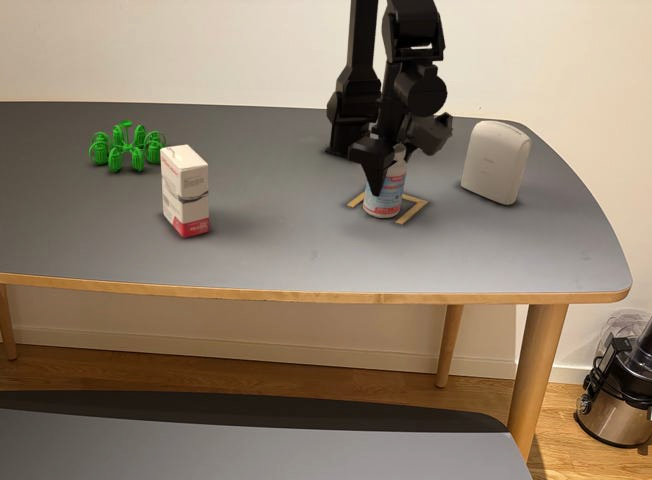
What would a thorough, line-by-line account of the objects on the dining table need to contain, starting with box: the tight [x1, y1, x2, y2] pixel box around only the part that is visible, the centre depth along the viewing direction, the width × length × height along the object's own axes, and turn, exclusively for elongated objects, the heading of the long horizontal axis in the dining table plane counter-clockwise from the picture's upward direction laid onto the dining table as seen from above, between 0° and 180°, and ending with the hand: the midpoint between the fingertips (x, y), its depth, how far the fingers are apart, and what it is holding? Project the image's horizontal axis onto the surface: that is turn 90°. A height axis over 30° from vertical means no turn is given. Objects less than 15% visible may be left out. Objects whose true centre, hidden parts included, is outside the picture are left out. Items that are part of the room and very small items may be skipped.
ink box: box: [160, 143, 210, 239], centre depth 117 cm, size 8×5×12 cm, turn 26°
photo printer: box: [460, 120, 532, 206], centre depth 125 cm, size 10×4×12 cm, turn 39°
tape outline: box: [346, 191, 429, 226], centre depth 125 cm, size 10×9×1 cm
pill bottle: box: [362, 144, 408, 219], centre depth 120 cm, size 6×6×11 cm
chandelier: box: [88, 119, 167, 173], centre depth 137 cm, size 15×15×7 cm
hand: (385, 189), depth 121 cm, fingers closed on pill bottle, 6 cm apart
